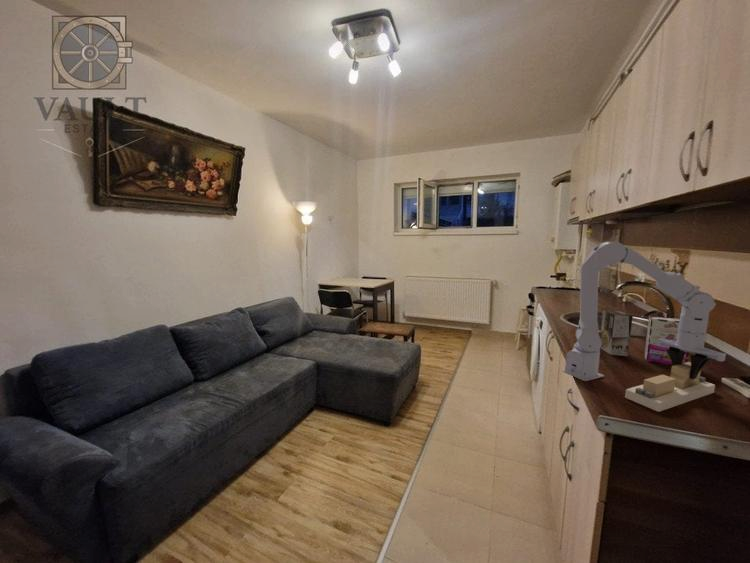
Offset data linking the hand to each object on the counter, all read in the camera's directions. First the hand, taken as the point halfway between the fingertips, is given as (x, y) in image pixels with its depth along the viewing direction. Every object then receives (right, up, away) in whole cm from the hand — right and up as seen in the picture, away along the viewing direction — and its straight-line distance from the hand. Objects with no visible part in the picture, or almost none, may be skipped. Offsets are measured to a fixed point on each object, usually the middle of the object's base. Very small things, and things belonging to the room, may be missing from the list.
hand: (685, 375), depth 93 cm
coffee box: (+4, 0, +33) cm, 33 cm away
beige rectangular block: (0, -3, 0) cm, 3 cm away
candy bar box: (+15, -2, +23) cm, 27 cm away
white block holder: (-6, -5, -2) cm, 8 cm away
